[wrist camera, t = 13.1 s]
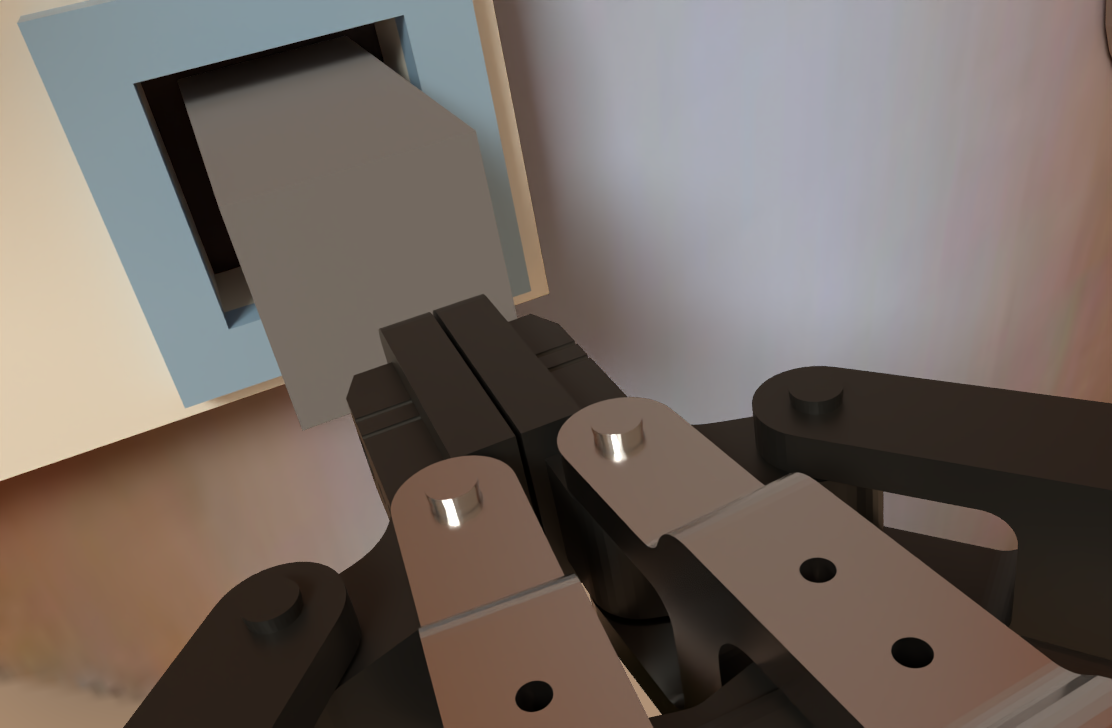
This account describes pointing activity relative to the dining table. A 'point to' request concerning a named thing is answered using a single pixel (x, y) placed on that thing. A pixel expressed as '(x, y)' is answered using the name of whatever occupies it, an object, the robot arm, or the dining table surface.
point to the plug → (343, 207)
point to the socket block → (176, 204)
